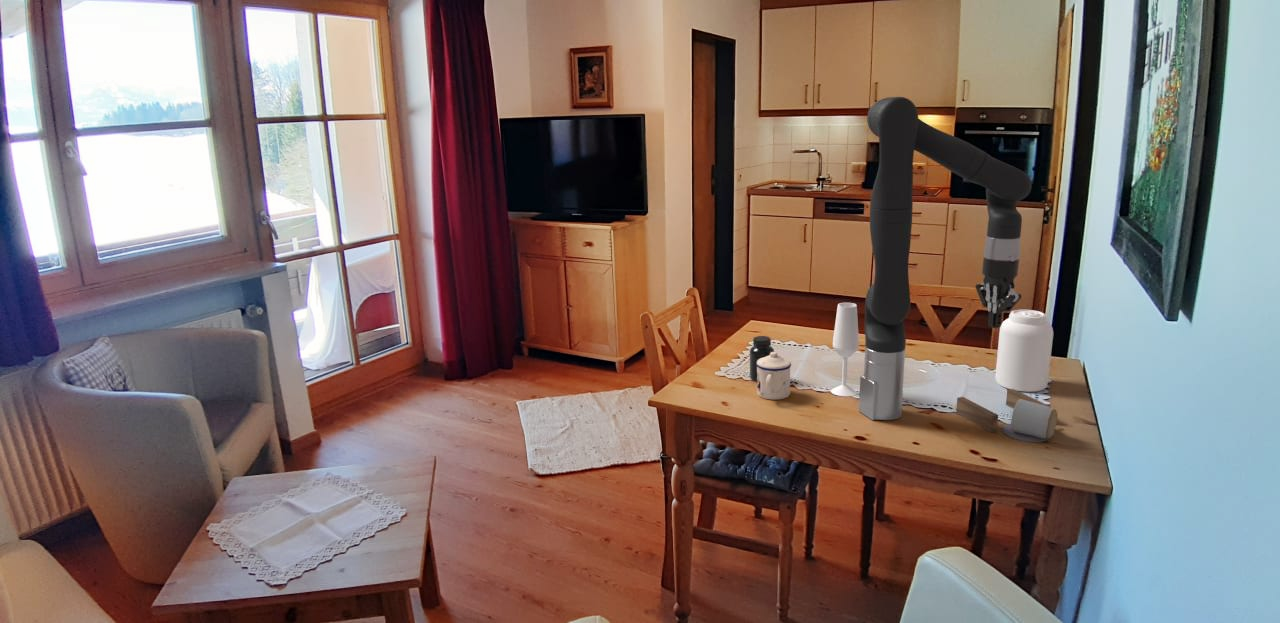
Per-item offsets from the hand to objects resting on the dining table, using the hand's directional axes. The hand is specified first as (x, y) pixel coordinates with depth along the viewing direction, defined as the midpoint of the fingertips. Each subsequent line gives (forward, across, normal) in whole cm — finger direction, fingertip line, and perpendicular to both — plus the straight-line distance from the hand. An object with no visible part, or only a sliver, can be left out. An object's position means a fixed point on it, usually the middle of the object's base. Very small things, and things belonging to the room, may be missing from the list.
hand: (994, 326), depth 178 cm
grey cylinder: (+21, +15, 0) cm, 26 cm away
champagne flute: (+22, -23, -26) cm, 41 cm away
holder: (+21, +5, 0) cm, 22 cm away
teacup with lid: (+22, -27, -45) cm, 57 cm away
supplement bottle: (+22, -40, -42) cm, 62 cm away
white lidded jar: (+22, -11, +20) cm, 32 cm away
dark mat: (+21, +14, -1) cm, 25 cm away
